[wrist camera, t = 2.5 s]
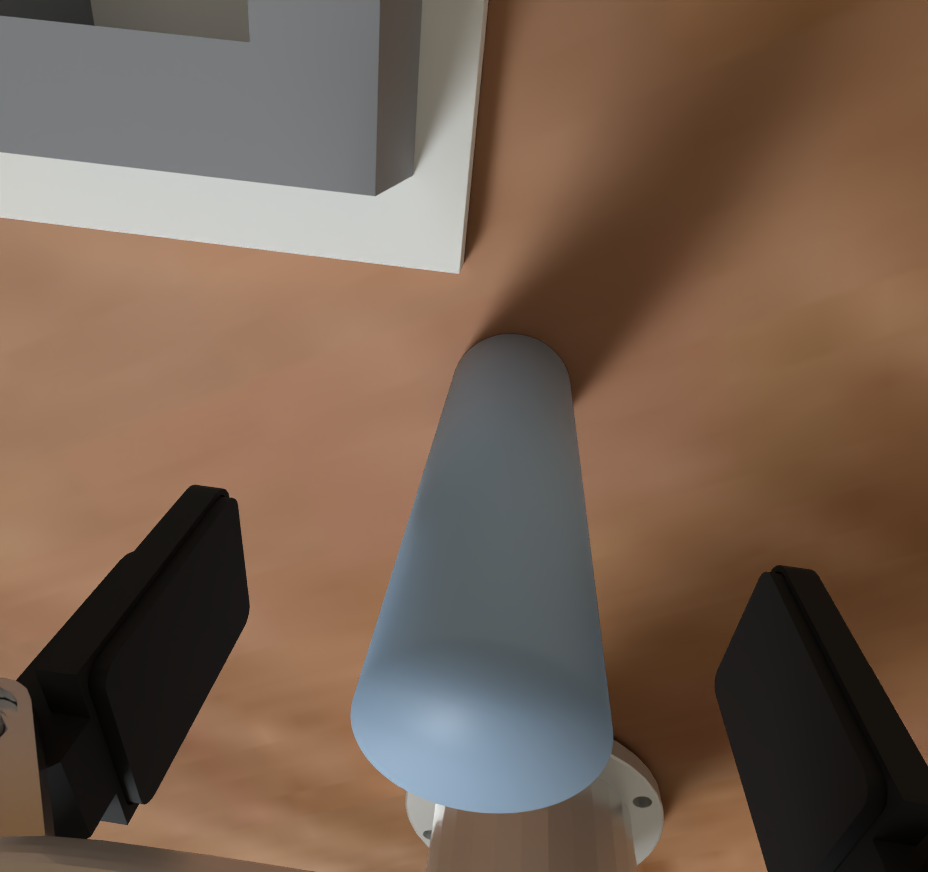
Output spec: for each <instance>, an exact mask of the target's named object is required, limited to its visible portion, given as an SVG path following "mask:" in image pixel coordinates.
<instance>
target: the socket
mask: <svg viewBox="0 0 928 872" xmlns="http://www.w3.org/2000/svg"><path fill="white" fill-rule="evenodd" d="M487 11H488V0H0V217H1V218H9V219H18V220H26V221H34V222H42V223H50V224H58V225H66V226H75V227H83V228H91V229H99V230H107V231H115V232H123V233H132V234H140V235H148V236H156V237H164V238H172V239H180V240H189V241H197V242H205V243H213V244H221V245H229V246H237V247H246V248H254V249H262V250H270V251H278V252H286V253H294V254H302V255H311V256H319V257H327V258H335V259H343V260H351V261H359V262H368V263H376V264H384V265H392V266H400V267H408V268H416V269H425V270H433V271H441V272H449V273H457V274H459V273H460V271H461V269H462V267H463V264H464V253H465V243H466V232H467V222H468V211H469V201H470V190H471V180H472V169H473V158H474V148H475V137H476V127H477V116H478V106H479V95H480V85H481V74H482V63H483V53H484V42H485V32H486V21H487Z"/></svg>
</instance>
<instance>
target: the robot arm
mask: <svg viewBox="0 0 928 872" xmlns="http://www.w3.org/2000/svg"><path fill="white" fill-rule="evenodd" d="M249 608H250V605H249V595H248V587H247V578H246V570H245V561H244V553H243V544H242V536H241V527H240V519H239V510H238V504H237V501H236V499H234V498H229V494H228V492H227V490H225V489H222V488H215V487H207V486H200V485H192V486H190V487H189V488H188V489H187V490H186V491H185V492H184V493H183V495H182V496H181V497H180V498H179V499H178V500H177V502H176V503H175V504H174V505H173V506H172V507H171V509H170V510H169V511H168V512H167V513H166V514H165V516H164V517H163V518H162V519H161V520H160V521H159V523H158V524H157V525H156V526H155V527H154V528H153V530H152V531H151V532H150V533H149V534H148V535H147V537H146V538H145V539H144V540H143V541H142V542H141V544H140V545H139V546H138V547H137V548H136V550H135V551H133V552H131V553H128V554H127V555H126V556H124V557H123V558H122V559H121V560H120V561H119V562H118V563H117V565H116V566H115V567H114V568H113V569H112V570H111V572H110V573H109V574H108V575H107V576H106V577H105V578H104V580H103V581H102V582H101V583H100V584H99V585H98V587H97V588H96V589H95V590H94V591H93V592H92V593H91V595H90V596H89V597H88V598H87V599H86V600H85V601H84V603H83V604H82V605H81V606H80V607H79V608H78V610H77V611H76V612H75V613H74V614H73V615H72V616H71V618H70V619H69V620H68V621H67V622H66V623H65V625H64V626H63V627H62V628H61V629H60V630H59V631H58V633H57V634H56V635H55V636H54V637H53V638H52V640H51V641H50V642H49V643H48V644H47V645H46V646H45V648H44V649H43V650H42V651H41V652H40V653H39V655H38V656H37V657H36V658H35V659H34V660H33V661H32V663H31V664H30V665H29V666H28V667H27V668H26V669H25V671H24V672H23V673H22V674H21V675H20V676H19V678H18V679H17V680H16V681H15V680H11V679H7V678H3V677H2V678H0V872H313V871H307V870H301V869H294V868H288V867H282V866H275V865H269V864H263V863H256V862H250V861H243V860H237V859H231V858H224V857H218V856H212V855H205V854H198V853H190V852H183V851H176V850H169V849H161V848H154V847H147V846H139V845H132V844H125V843H118V842H110V841H103V840H91V839H87V838H89V837H91V835H92V834H93V832H94V830H95V829H96V827H97V825H98V824H99V822H100V821H106V822H112V823H118V824H124V825H128V823H129V821H130V820H131V818H132V816H133V814H134V812H135V810H136V809H137V807H138V805H139V804H147V803H148V802H149V801H150V800H151V799H152V798H153V796H154V794H155V793H156V791H157V789H158V787H159V785H160V784H161V782H162V780H163V778H164V776H165V774H166V772H167V770H168V769H169V767H170V765H171V763H172V761H173V759H174V757H175V756H176V754H177V752H178V750H179V748H180V746H181V744H182V742H183V741H184V739H185V737H186V735H187V733H188V731H189V729H190V727H191V726H192V724H193V722H194V720H195V718H196V716H197V714H198V712H199V711H200V709H201V707H202V705H203V703H204V701H205V699H206V697H207V696H208V694H209V692H210V690H211V688H212V686H213V684H214V683H215V681H216V679H217V677H218V675H219V673H220V671H221V669H222V668H223V666H224V664H225V662H226V660H227V658H228V656H229V654H230V653H231V651H232V649H233V647H234V645H235V643H236V641H237V639H238V638H239V636H240V634H241V632H242V630H243V628H244V626H245V624H246V622H247V619H248V615H249ZM715 693H716V697H717V700H718V704H719V707H720V710H721V714H722V717H723V721H724V724H725V728H726V731H727V734H728V738H729V741H730V745H731V748H732V751H733V755H734V758H735V762H736V765H737V768H738V772H739V775H740V779H741V782H742V785H743V789H744V792H745V796H746V799H747V802H748V806H749V809H750V813H751V816H752V819H753V823H754V826H755V830H756V833H757V837H758V840H759V843H760V847H761V850H762V854H763V857H764V860H765V864H766V867H767V871H768V872H928V766H927V764H926V762H925V761H924V759H923V757H922V755H921V754H920V752H919V750H918V748H917V747H916V745H915V743H914V741H913V740H912V738H911V736H910V734H909V733H908V731H907V729H906V727H905V726H904V724H903V722H902V720H901V719H900V717H899V715H898V713H897V712H896V710H895V708H894V706H893V705H892V703H891V701H890V699H889V698H888V696H887V694H886V692H885V691H884V689H883V687H882V686H881V684H880V682H879V680H878V679H877V677H876V675H875V673H874V672H873V670H872V668H871V667H870V665H869V664H868V662H867V660H866V658H865V657H864V655H863V653H862V651H861V650H860V648H859V646H858V644H857V643H856V641H855V639H854V637H853V636H852V634H851V632H850V630H849V629H848V627H847V625H846V623H845V622H844V620H843V618H842V616H841V615H840V613H839V611H838V609H837V608H836V606H835V604H834V602H833V601H832V599H831V597H830V595H829V594H828V592H827V590H826V588H825V587H824V585H823V583H822V581H821V580H820V578H819V576H818V575H817V574H816V572H815V571H813V570H810V569H803V568H796V567H788V566H781V565H778V566H775V567H774V568H773V569H772V570H771V572H764V573H763V574H762V575H761V576H760V578H759V580H758V582H757V584H756V587H755V589H754V591H753V593H752V595H751V598H750V600H749V602H748V604H747V606H746V609H745V611H744V613H743V615H742V617H741V620H740V622H739V624H738V626H737V628H736V631H735V633H734V635H733V637H732V639H731V642H730V644H729V646H728V648H727V650H726V653H725V655H724V657H723V659H722V661H721V664H720V666H719V668H718V670H717V673H716V676H715ZM405 806H406V810H407V815H408V819H409V821H410V822H411V824H412V826H413V828H414V830H415V832H416V833H417V834H418V836H419V837H420V838H421V839H422V840H423V841H424V842H425V844H426V845H427V846H428V847H429V853H428V860H427V867H426V872H638V870H637V865H638V864H639V863H640V862H642V861H643V860H644V859H645V858H646V857H647V856H648V855H649V854H650V853H651V852H652V851H653V849H654V848H655V846H656V845H657V843H658V841H659V840H660V838H661V834H662V831H663V827H664V813H663V806H662V801H661V796H660V792H659V788H658V784H657V782H656V780H655V779H654V777H653V775H652V773H651V772H650V770H649V769H648V768H647V766H646V765H645V764H644V763H643V762H642V761H641V760H640V759H639V758H638V757H637V756H636V755H635V754H634V753H632V752H631V751H629V750H628V749H627V748H625V747H624V746H622V745H621V744H620V743H618V742H617V741H615V740H613V746H612V751H611V755H610V757H609V760H608V762H607V764H606V766H605V768H604V769H603V771H602V772H601V773H600V775H599V776H598V777H597V778H596V779H595V780H594V781H593V782H592V783H591V784H590V785H589V786H588V787H586V788H585V789H584V790H582V791H581V792H579V793H578V794H576V795H574V796H572V797H571V798H569V799H567V800H564V801H562V802H560V803H557V804H554V805H551V806H548V807H545V808H541V809H536V810H531V811H525V812H517V813H480V812H472V811H465V810H460V809H455V808H450V807H447V806H443V805H440V804H436V803H434V802H431V801H428V800H426V799H423V798H421V797H418V796H416V795H414V794H412V793H410V792H408V791H406V799H405Z"/></svg>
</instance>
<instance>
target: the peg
mask: <svg viewBox="0 0 928 872" xmlns="http://www.w3.org/2000/svg"><path fill="white" fill-rule="evenodd" d="M351 726H352V729H353V733H354V736H355V739H356V741H357V743H358V745H359V747H360V749H361V750H362V752H363V753H364V755H365V756H366V758H367V759H368V760H369V761H370V762H371V763H372V765H373V766H374V767H375V768H376V769H377V770H378V771H380V772H381V773H382V774H383V775H384V776H385V777H386V778H388V779H389V780H391V781H392V782H393V783H395V784H396V785H398V786H400V787H401V788H403V789H405V790H406V791H408V792H410V793H412V794H414V795H416V796H418V797H421V798H423V799H426V800H428V801H431V802H434V803H436V804H440V805H443V806H447V807H450V808H455V809H460V810H465V811H472V812H480V813H517V812H525V811H531V810H536V809H541V808H545V807H548V806H551V805H554V804H557V803H560V802H562V801H564V800H567V799H569V798H571V797H572V796H574V795H576V794H578V793H579V792H581V791H582V790H584V789H585V788H586V787H588V786H589V785H590V784H591V783H592V782H593V781H594V780H595V779H596V778H597V777H598V776H599V775H600V773H601V772H602V771H603V769H604V768H605V766H606V764H607V762H608V760H609V757H610V755H611V751H612V746H613V727H612V719H611V710H610V702H609V694H608V686H607V678H606V670H605V662H604V653H603V645H602V637H601V629H600V621H599V613H598V605H597V596H596V588H595V580H594V572H593V564H592V556H591V548H590V539H589V531H588V523H587V515H586V507H585V499H584V491H583V482H582V474H581V466H580V458H579V450H578V442H577V434H576V425H575V417H574V409H573V401H572V393H571V385H570V379H569V375H568V371H567V369H566V367H565V365H564V363H563V361H562V360H561V358H560V357H559V356H558V355H557V353H556V352H555V351H554V350H553V349H551V348H550V347H549V346H548V345H546V344H545V343H543V342H541V341H539V340H537V339H535V338H532V337H529V336H525V335H520V334H501V335H496V336H493V337H489V338H487V339H485V340H482V341H480V342H479V343H477V344H476V345H474V346H473V347H472V348H471V349H469V350H468V351H467V352H466V353H465V355H464V356H463V357H462V358H461V360H460V361H459V363H458V365H457V367H456V369H455V373H454V376H453V379H452V382H451V385H450V389H449V392H448V395H447V398H446V401H445V405H444V408H443V411H442V414H441V418H440V421H439V424H438V427H437V430H436V434H435V437H434V440H433V443H432V447H431V450H430V453H429V456H428V459H427V463H426V466H425V469H424V472H423V476H422V479H421V482H420V485H419V488H418V492H417V495H416V498H415V501H414V505H413V508H412V511H411V514H410V517H409V521H408V524H407V527H406V530H405V534H404V537H403V540H402V543H401V546H400V550H399V553H398V556H397V559H396V562H395V566H394V569H393V572H392V575H391V579H390V582H389V585H388V588H387V591H386V595H385V598H384V601H383V604H382V608H381V611H380V614H379V617H378V620H377V624H376V627H375V630H374V633H373V637H372V640H371V643H370V646H369V649H368V653H367V656H366V659H365V662H364V666H363V669H362V672H361V675H360V678H359V682H358V685H357V688H356V691H355V695H354V698H353V701H352V706H351Z"/></svg>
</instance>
